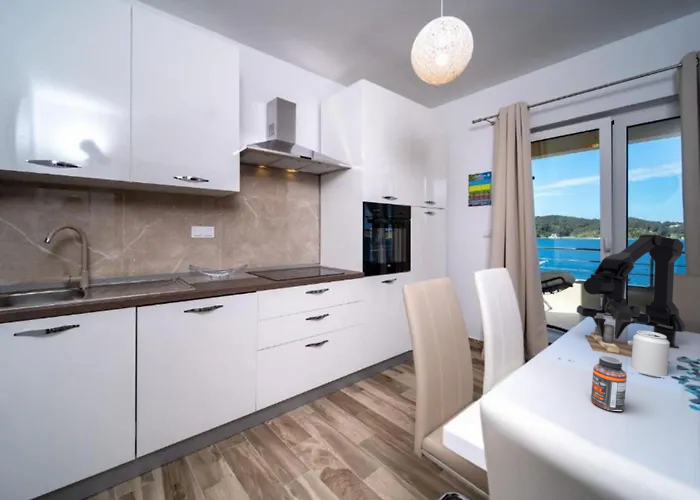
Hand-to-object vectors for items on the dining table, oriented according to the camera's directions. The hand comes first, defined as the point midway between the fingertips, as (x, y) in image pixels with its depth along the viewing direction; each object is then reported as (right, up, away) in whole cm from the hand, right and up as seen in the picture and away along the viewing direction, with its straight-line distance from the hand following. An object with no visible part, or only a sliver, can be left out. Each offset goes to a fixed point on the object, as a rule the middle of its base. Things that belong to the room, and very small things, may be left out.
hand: (609, 337), depth 105 cm
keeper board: (+5, -5, 0) cm, 7 cm away
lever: (+1, -3, +3) cm, 4 cm away
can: (-4, -6, -17) cm, 19 cm away
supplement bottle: (-31, -6, -35) cm, 47 cm away
